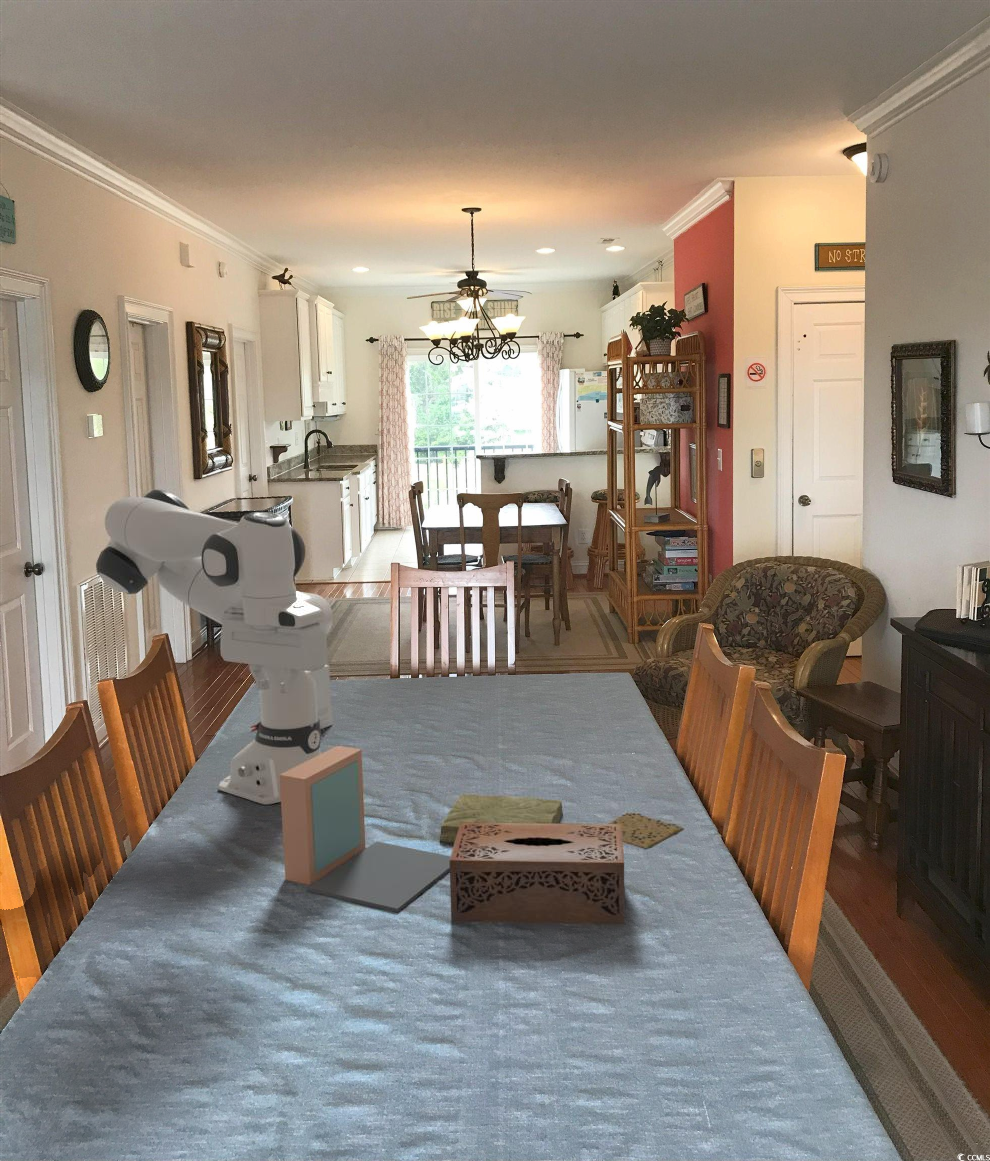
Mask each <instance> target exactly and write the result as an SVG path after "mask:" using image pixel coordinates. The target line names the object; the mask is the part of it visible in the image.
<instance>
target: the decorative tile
mask: <svg viewBox="0 0 990 1161" xmlns="http://www.w3.org/2000/svg"><path fill="white" fill-rule="evenodd" d="M562 803H563V801H561V800H557V799H547V798H546V799H545V798H535V797H524V796H523V797H522V796H506V795H505V796H504V795H503V796H502V795H483V794H482V795H480V794H478V795H477V794H475V793H465V794H462V795H459V796H458V798H457V799H456V800H455V802H454V804H453V805H452V807H451V808H450V810H449V812H448V814H447V815H446V817H444V818H445V819H444V820H443V822H442V825H441V827H440V833H439V841H440V842H442V843H455V840H456V836H457V833H458V829H459V826H460V822H480V823H560V820H561V817H562V815H563V812H564V811H563V804H562Z"/></svg>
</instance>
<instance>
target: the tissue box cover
mask: <svg viewBox="0 0 990 1161" xmlns="http://www.w3.org/2000/svg"><path fill="white" fill-rule="evenodd" d="M623 844H624V842H622V830H621V824H608V823H560V822H559V823H480V822H460V826H459V829H458V833H457V836H456V840H455V842H453V847H452V850H451V854H450V856H451V857H450V871H449V884H450V885H449V886H450V887H449V888H450V890H449V892H450V916H451V917H450V918H451V922H463V923H464V922H470V923H471V922H475V923H515V924H516V923H518V924H519V923H522V924H523V923H524V924H564V925H565V924H566V925H567V924H568V925H569V924H571V925H573V924H574V925H577V924H578V925H612V926H616V925H620V926H623V925H625V855H624V845H623Z"/></svg>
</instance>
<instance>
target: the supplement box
mask: <svg viewBox="0 0 990 1161" xmlns="http://www.w3.org/2000/svg"><path fill="white" fill-rule="evenodd" d="M305 672H306V674H308V675H310V676H311V677H312V678H313V679H314V681H315V684H316V697H317V717H318V718H319V719H320V730H322V729H325V728H327V727H331V726H332V725H333V724H334V722H333V708H332V694H331V677H330V676H331V673H330V665H329V664H326V665H325V666H324V668H322V669H319V670H316V671H313V672H311V671H305Z"/></svg>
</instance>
